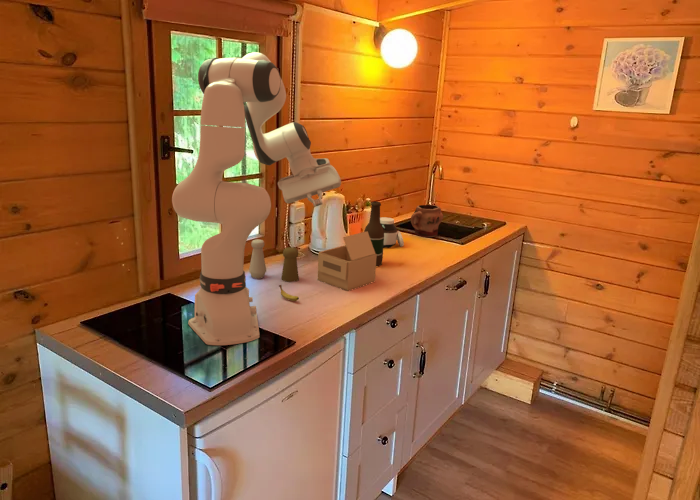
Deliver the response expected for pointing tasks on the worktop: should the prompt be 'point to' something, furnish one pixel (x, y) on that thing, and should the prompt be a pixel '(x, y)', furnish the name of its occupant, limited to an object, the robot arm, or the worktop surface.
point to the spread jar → (390, 233)
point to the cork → (290, 265)
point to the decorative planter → (426, 220)
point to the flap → (359, 245)
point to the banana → (287, 296)
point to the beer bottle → (376, 231)
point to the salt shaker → (257, 259)
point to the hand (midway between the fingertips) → (318, 205)
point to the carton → (345, 268)
